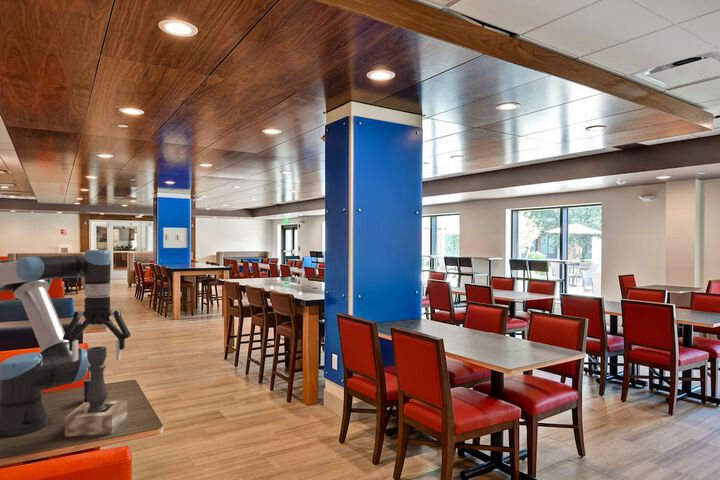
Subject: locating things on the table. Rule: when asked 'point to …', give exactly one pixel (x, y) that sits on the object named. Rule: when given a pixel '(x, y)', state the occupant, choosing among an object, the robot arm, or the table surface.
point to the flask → (86, 389)
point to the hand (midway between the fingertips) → (97, 360)
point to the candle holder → (96, 379)
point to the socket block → (95, 419)
